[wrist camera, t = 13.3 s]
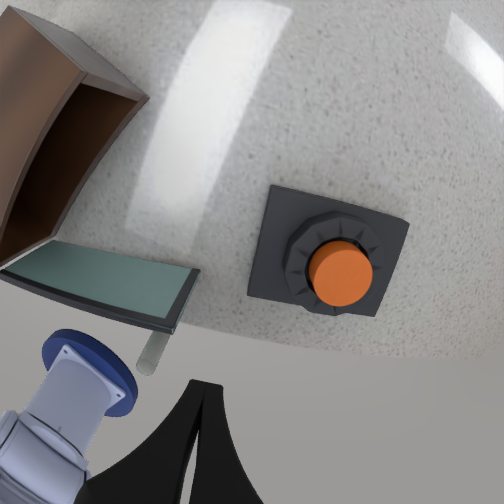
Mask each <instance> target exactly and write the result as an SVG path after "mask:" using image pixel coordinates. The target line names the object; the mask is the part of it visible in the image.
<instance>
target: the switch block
mask: <svg viewBox="0 0 504 504" xmlns="http://www.w3.org/2000/svg"><path fill="white" fill-rule="evenodd" d="M409 225H410V224H409V223H408V222H406V221H404V220H402V219H400V218H396V217H393V216H390V215H387V214H383V213H380V212H377V211H373V210H370V209H367V208H363V207H360V206H356V205H352V204H349V203H345V202H341V201H338V200H334V199H330V198H326V197H322V196H318V195H314V194H310V193H306V192H302V191H298V190H294V189H289V188H285V187H280V186H276V185H271V186H270V190H269V195H268V199H267V204H266V208H265V213H264V217H263V222H262V226H261V231H260V235H259V240H258V244H257V249H256V253H255V258H254V262H253V267H252V271H251V275H250V280H249V284H248V291H247V296H251V297H256V298H262V299H267V300H273V301H278V302H284V303H289V304H295V305H301V306H303V307H304V308H305V309H307V310H308V311H309V312H311V313H317V314H324V315H330V316H337V315H340V314H343V313H351V314H358V315H365V316H372V317H375V315H376V312H377V310H378V308H379V306H380V303H381V301H382V299H383V296H384V294H385V292H386V289H387V287H388V284H389V282H390V279H391V277H392V274H393V271H394V269H395V266H396V263H397V261H398V258H399V255H400V252H401V249H402V246H403V243H404V240H405V237H406V234H407V231H408V228H409ZM332 241H347V242H350V243H352V244H353V245H355V246H356V247H357V248H358V249H359V250H360V251H361V252H362V253H363V254H364V255H365V256H366V257H367V259H368V260H369V262H370V264H371V266H372V273H373V274H372V281H371V285H370V287H369V289H368V290H367V292H366V293H365V294H364V295H363V297H361V298H360V299H359V300H358V301H356V302H354V303H352V304H350V305H346V306H332V305H329V304H327V303H325V302H323V301H322V300H321V299H320V298H319V297H318V296H317V294H316V292H315V289H314V287H313V284H312V281H311V279H310V275H309V265H310V262H311V259H312V257H313V255H314V254H315V253H316V251H317V250H318V249H319V248H321V247H322V246H323V245H325V244H327V243H329V242H332Z"/></svg>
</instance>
